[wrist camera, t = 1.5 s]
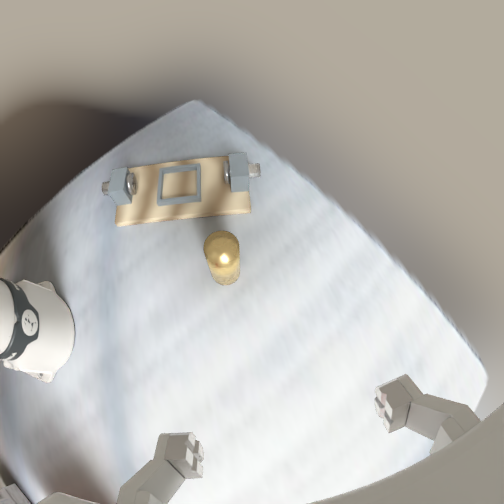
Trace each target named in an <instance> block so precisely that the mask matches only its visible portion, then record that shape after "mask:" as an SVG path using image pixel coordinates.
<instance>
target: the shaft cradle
mask: <svg viewBox="0 0 504 504" xmlns="http://www.w3.org/2000/svg"><path fill="white" fill-rule="evenodd" d="M255 177H260V165H259V163H258V164H248V160H247V153H233V154H229V156H222V157H210V158H200V159H191V160H183V161H175V162H167V163H160V164H153V165H147V166H141V167H135V168H129V169H128V167H123V168H118V169H113V170H112V173H111V178H110V181H108V182H103V184H102V192H103V194H104V195H110V197H111V198H112V199H113V201H114V202H115V204H116V205H117V210H116V217H115V224H116V225H117V226H118V227H119V226H127V225H135V224H143V223H151V222H160V221H169V220H178V219H188V218H198V217H209V216H219V215H231V214H243V213H251V205H250V197H249V178H255Z"/></svg>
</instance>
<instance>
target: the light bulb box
mask: <svg viewBox="0 0 504 504" xmlns="http://www.w3.org/2000/svg"><path fill="white" fill-rule="evenodd" d="M0 504H31V503H30V502H29V500H28V499H27V498H26V497H25V496H24V494H23V493H22V492H21V491H20V489H19V488H18V487H17V485H16V484H12V485H9V486H6V487H4V488H1V489H0Z"/></svg>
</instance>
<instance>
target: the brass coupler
mask: <svg viewBox="0 0 504 504" xmlns="http://www.w3.org/2000/svg"><path fill="white" fill-rule="evenodd" d="M204 253H205V256H206V259H207V262H208V265H209V268H210V271H211V274H212V277H213V279H214V280H215V281H216V282H217V283H219V284H221V285H230V284H232V283H234V282H235V281H236V280H237V279H238V277H239V274H240V258H239V242H238V240H237V238H236V237H235V236H234V235H233V234H232V233H230V232H227V231H217V232H214V233H212V234H210V235H209V236H208V237H207V239H206V240H205V242H204Z"/></svg>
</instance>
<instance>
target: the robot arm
mask: <svg viewBox="0 0 504 504" xmlns="http://www.w3.org/2000/svg"><path fill="white" fill-rule="evenodd" d="M74 336H75V331H74V322H73V318H72V315H71V312H70V310H69V308H68V306H67V305H66V303H65V302H64V301H63V300H62V299H61V298H60V297H59V296H58V295H57V293H56V291H55V289H54V286H53V284H52V283H51V282H49V281H44V282H41V283H38V284H35V283H32V282H30V281H27V280H22V281H21V282H17V283H16V284H14V283H13V282H11V281H9V280H6V279H3V278H0V360H4V366H5V367H7V368H10V369H14V370H17V371H20V370H21V371H23V372H25V373H27V374H29V375H31V376H33V377H35V378H37V379H39V380H41V381H43V382H46V383H51V382H52V380H53V378H54V376H55V374H56V372H57V370H58V369H60V368H61V367H62V366H63V365H64V364H65V363H66V362H67V360H68V359H69V357H70V355H71V352H72V349H73V345H74ZM42 373H43V376H42ZM375 394H376V395H377V397H376V398H375V408H376V411H377V414H378V415H379V417H381V418H383V419H384V420H383V424H384V426H385V428H386V430H387V431H388V433H391V432H393V431H395V430H398V429H400V428H402V427H404V426H406V427H407V428H409V429H411V430H413V431H415V432H417V433H419V434H421V435H423V436H425V437H427V438H429V439H431V440H434V443H433V445H432V448H431V450H430V452H429V453H430V454H431V455H430V456H428V457H426V458H425V459H423V460H421V461H419V462H417V463H415V464H413V465H412V466H410V467H408V468H406V469H403V470H401V471H399V472H397V473H395V474H393V475H391V476H388V477H386V478H384V479H381V480H379V481H377V482H374V483H372V484H369V485H366V486H364V487H361V488H358V489H355V490H353V491H350V492H347V493H344V494H340V495H337V496H334V497H330V498H327V499H323V500H320V501H316V502H312V503H308V504H504V403H503V404H502V405H501V406H499V407H498V408H497V409H496V410H495V411H494V412H492V413H491V414H490V415H489V416H487V417H486V418H485V419H484V420H482V421H480V419H479V418H478V417H477V416H476V415H475V414H474V412H473V411H472V410H471V409H470V408H469V407H468V405H465V404H461V403H457V402H453V401H450V400H446V399H443V398H439V397H436V396H432V395H429V394H425V395H423V393H422V392H421V391H420V390H419V388H418V387H417V386H416V385H415V383H414V382H413V381H412V380H411V378H410V377H409V376H408V375H407V374H404V375H402V376H400V377H398V378H396V379H393V380H391V381H389V382H386V383H384V384H382V385H380V386H377V387H376V388H375ZM203 459H204V452H203V447H202V445H201V443H200V442H199V441H197V440H195V435H194V434H193V432H187V433H164V434H160V435H159V438H158V442H157V446H156V450H155V454H154V459H153V460H150V461H149V462H148V463H147V464H146V465H145V466H144V467H143V468H141V469H140V470H139V471H138V472H137V473H136V474H135V475H134V476H133V477H132V478H131V479H129V480H128V481H127V482H126V483H125V484H124V485H123V486H122V487H121V488H120V492H119V495H118V499H117V503H116V504H167V503H168V502H169V500H170V499H171V498H172V497H173V495H174V494H175V493H176V491H177V490H178V489H179V487H180V486H181V485H182V483H183V482H184V481H185V479H190V478H202V475H203V466H202V465H201V464H200V463H201V462H202V460H203ZM37 504H99V503H95V502H91V501H87V500H84V499H80V498H77V497H74V496H71V495H68V494H65V493H61V492H55V493H53V494H51V495H49V496H48V497H46V498H44V499H43V500H41V501H40V502H38V503H37Z"/></svg>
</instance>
